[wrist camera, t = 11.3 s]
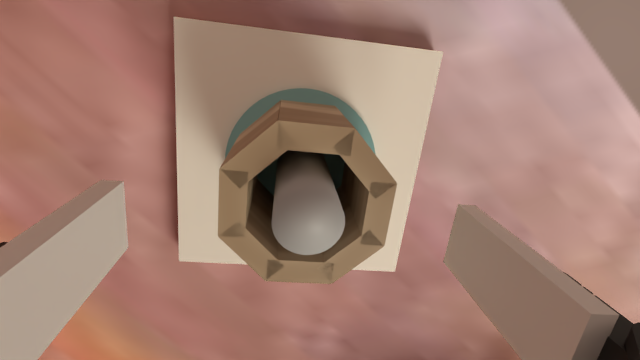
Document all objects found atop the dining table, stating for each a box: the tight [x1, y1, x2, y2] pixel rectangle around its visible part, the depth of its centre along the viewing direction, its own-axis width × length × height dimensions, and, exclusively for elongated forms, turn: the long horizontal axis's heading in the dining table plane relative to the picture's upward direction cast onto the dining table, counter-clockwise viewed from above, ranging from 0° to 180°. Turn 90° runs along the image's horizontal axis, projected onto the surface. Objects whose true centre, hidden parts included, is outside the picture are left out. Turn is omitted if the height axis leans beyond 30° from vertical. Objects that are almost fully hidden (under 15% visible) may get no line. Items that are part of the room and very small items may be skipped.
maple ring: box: [218, 100, 397, 284], centre depth 17 cm, size 7×7×6 cm
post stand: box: [174, 17, 443, 272], centre depth 17 cm, size 14×14×9 cm
